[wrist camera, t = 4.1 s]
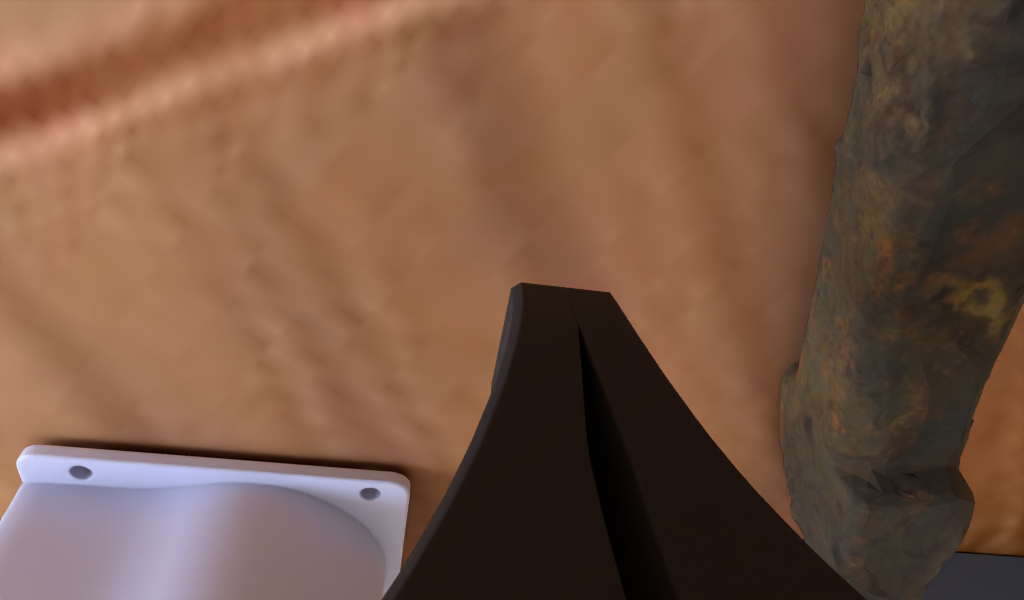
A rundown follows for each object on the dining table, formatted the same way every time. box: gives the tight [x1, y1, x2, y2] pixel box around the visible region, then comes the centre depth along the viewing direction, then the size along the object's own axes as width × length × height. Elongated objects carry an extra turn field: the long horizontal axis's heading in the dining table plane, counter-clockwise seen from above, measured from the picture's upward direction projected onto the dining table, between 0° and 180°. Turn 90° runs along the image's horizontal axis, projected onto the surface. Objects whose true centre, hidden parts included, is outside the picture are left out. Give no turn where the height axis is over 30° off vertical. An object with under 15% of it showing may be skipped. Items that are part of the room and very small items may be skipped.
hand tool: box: [780, 0, 1024, 600], centre depth 14 cm, size 19×4×5 cm, turn 2°
